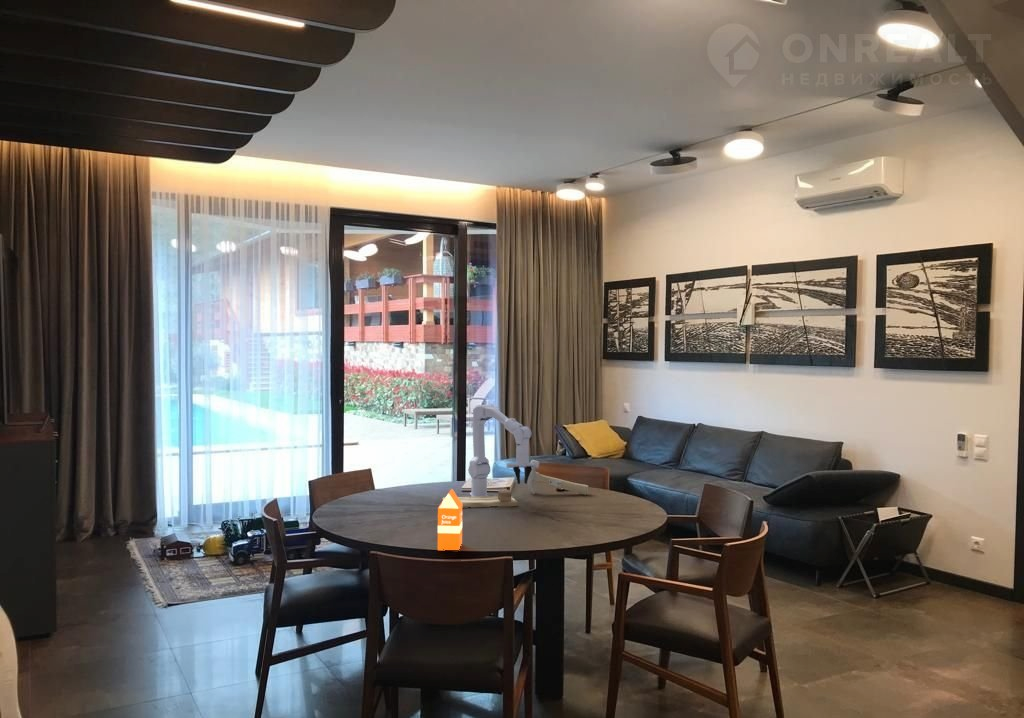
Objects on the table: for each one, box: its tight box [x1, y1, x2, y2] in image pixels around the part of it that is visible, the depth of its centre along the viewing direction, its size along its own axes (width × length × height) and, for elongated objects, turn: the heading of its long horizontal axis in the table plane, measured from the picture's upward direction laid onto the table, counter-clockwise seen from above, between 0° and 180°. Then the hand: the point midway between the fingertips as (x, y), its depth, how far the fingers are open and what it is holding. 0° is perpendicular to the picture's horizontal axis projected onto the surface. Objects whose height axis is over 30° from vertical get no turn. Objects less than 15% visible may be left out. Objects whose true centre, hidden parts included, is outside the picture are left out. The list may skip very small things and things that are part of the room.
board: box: [441, 495, 518, 509], centre depth 319 cm, size 14×32×2 cm, turn 102°
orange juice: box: [437, 488, 463, 551], centre depth 247 cm, size 8×9×20 cm
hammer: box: [526, 459, 589, 496], centre depth 344 cm, size 16×5×30 cm
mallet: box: [497, 488, 512, 501], centre depth 320 cm, size 10×5×4 cm, turn 12°
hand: (522, 483), depth 319 cm, fingers open, 3 cm apart
